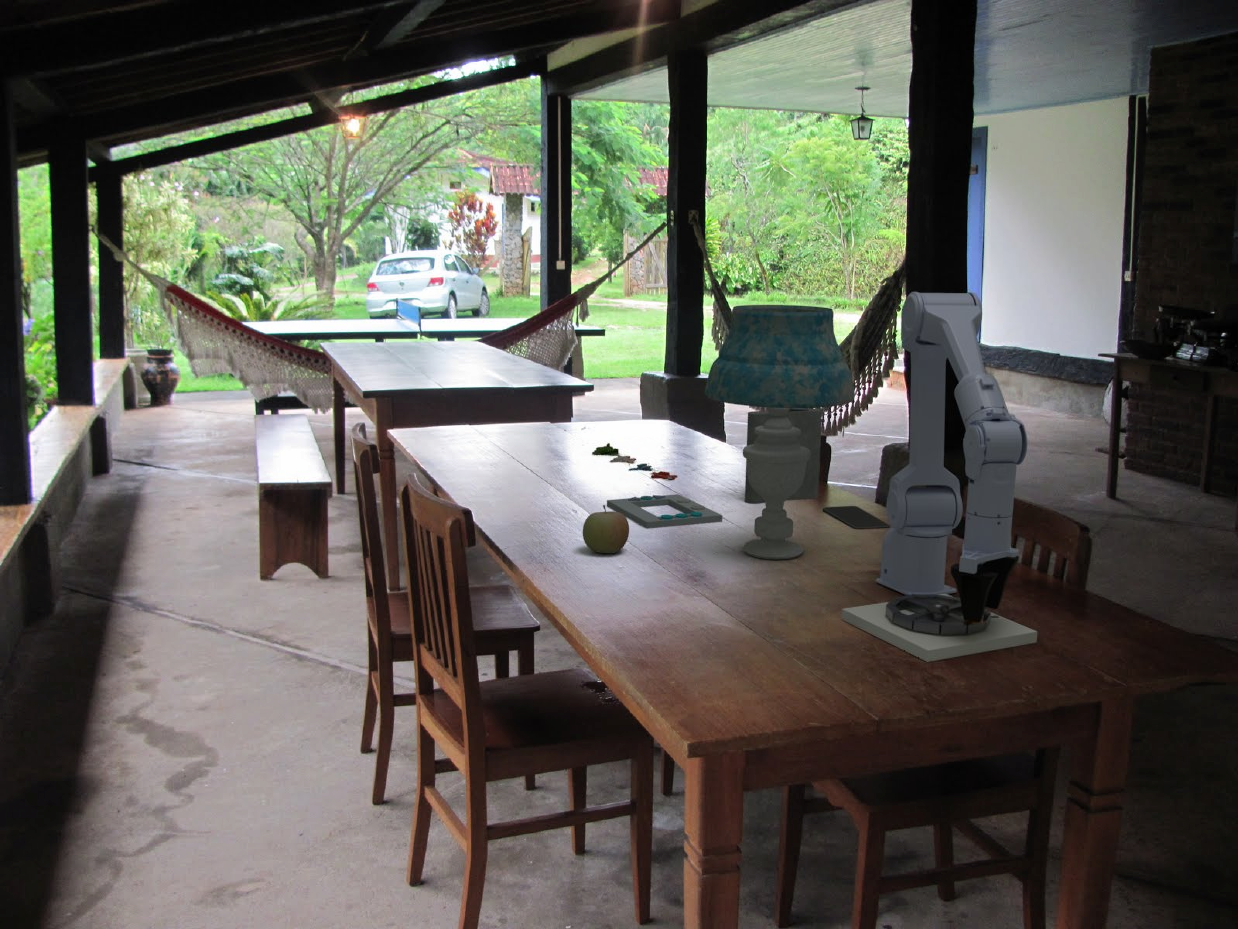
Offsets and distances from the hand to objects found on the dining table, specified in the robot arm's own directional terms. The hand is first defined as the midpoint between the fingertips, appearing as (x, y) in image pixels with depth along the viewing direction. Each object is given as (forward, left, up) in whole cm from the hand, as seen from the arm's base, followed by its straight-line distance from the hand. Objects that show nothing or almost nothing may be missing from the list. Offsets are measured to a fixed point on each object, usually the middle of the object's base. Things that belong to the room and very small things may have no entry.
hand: (981, 614), depth 161 cm
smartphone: (-61, +25, -4) cm, 66 cm away
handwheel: (-5, -3, -2) cm, 6 cm away
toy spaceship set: (-121, +9, -4) cm, 121 cm away
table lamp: (-47, -2, -4) cm, 47 cm away
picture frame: (-78, -6, -4) cm, 78 cm away
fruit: (-58, -27, -4) cm, 64 cm away
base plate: (-5, -3, -4) cm, 7 cm away
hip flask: (-80, +21, -4) cm, 83 cm away
